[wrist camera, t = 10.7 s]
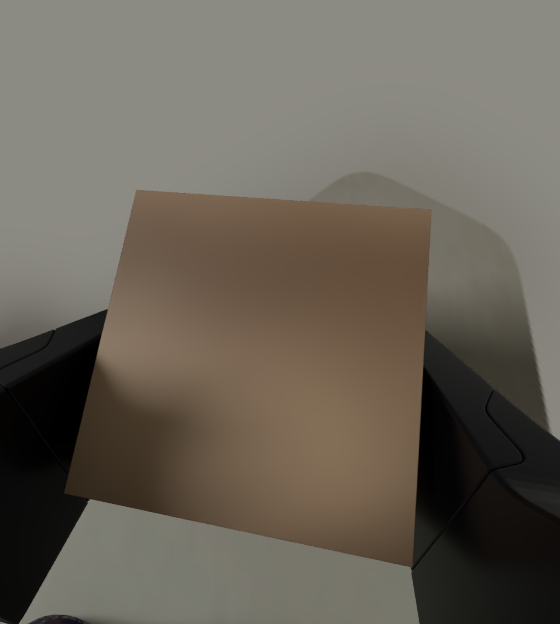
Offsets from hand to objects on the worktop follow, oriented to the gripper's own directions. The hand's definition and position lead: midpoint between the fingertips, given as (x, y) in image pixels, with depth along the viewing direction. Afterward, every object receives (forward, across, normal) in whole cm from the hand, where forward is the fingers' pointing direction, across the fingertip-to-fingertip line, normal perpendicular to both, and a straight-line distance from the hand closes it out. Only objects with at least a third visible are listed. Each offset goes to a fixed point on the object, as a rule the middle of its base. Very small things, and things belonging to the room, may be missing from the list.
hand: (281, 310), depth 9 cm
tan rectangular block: (+4, 0, +6) cm, 7 cm away
